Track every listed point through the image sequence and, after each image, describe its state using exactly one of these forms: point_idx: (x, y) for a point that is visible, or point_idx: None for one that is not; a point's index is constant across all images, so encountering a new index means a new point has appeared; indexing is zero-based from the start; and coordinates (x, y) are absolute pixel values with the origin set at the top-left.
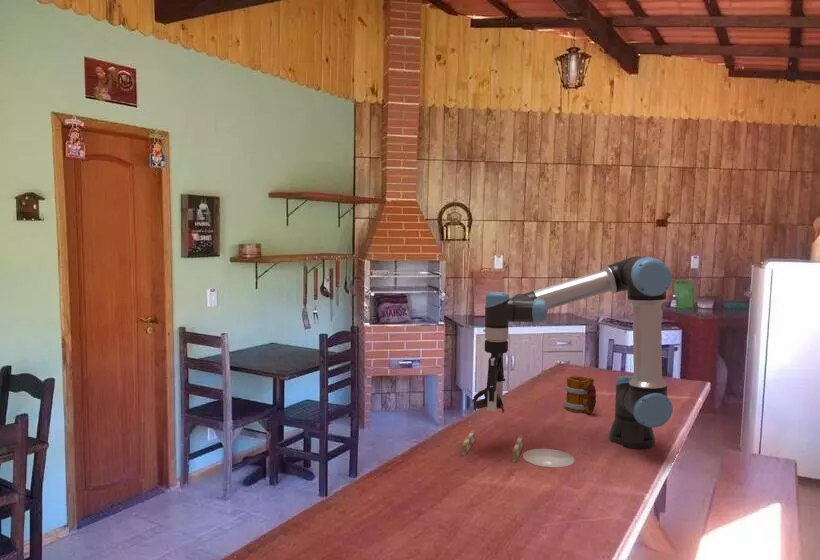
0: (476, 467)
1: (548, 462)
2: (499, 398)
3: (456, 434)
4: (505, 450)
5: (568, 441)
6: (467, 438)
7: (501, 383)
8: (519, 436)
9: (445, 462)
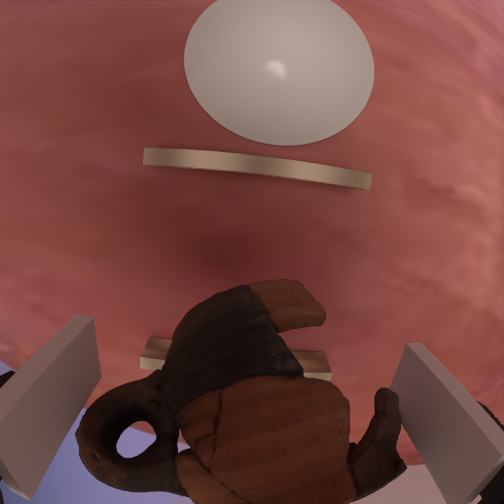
0: (411, 303)
1: (337, 59)
2: (332, 388)
3: None
4: (228, 217)
5: (87, 13)
6: None
7: (2, 438)
8: (157, 162)
9: (376, 387)
